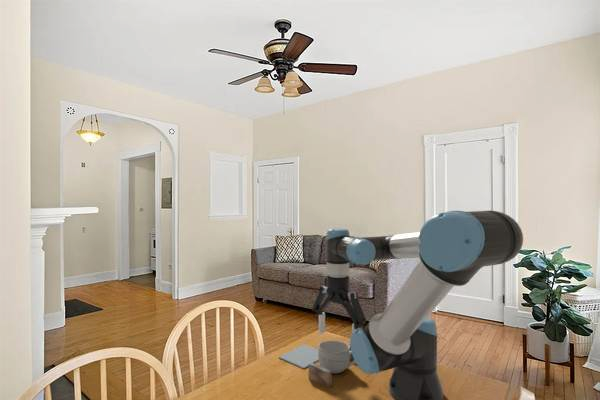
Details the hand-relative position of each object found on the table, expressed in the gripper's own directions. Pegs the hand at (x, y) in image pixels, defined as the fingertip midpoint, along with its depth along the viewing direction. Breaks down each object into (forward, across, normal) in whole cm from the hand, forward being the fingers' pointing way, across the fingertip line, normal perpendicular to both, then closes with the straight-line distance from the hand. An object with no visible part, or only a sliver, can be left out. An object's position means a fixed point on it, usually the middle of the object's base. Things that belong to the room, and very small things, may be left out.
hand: (337, 338), depth 113 cm
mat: (+11, +15, 0) cm, 18 cm away
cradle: (+11, 0, 0) cm, 11 cm away
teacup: (+11, 0, 0) cm, 11 cm away
